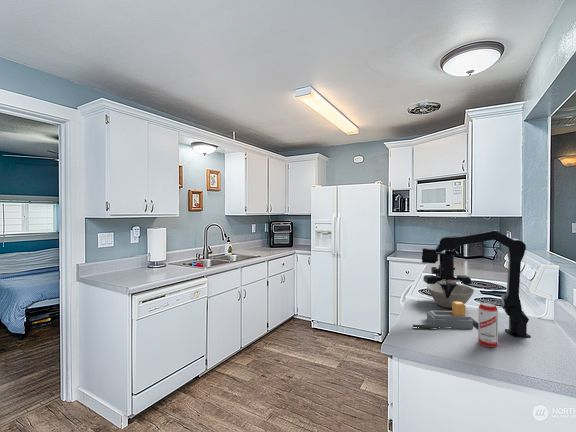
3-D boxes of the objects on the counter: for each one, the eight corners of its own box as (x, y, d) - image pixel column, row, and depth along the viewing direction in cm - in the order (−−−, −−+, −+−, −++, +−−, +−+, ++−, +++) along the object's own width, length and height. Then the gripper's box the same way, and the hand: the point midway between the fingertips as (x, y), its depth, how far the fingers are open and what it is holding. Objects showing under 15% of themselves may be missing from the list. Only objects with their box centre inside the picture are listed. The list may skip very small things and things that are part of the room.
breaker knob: (465, 317, 134) (465, 304, 134) (455, 317, 135) (455, 304, 134) (461, 313, 138) (461, 301, 138) (452, 313, 138) (452, 301, 138)
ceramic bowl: (470, 302, 165) (470, 284, 165) (477, 316, 144) (477, 296, 144) (426, 297, 175) (426, 280, 174) (426, 310, 154) (426, 291, 153)
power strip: (473, 328, 131) (473, 318, 131) (434, 327, 133) (434, 317, 133) (462, 319, 141) (462, 310, 141) (427, 318, 143) (427, 309, 143)
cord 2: (482, 329, 130) (482, 325, 130) (478, 328, 131) (478, 325, 131) (470, 319, 141) (470, 316, 141) (466, 319, 141) (467, 316, 141)
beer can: (479, 339, 121) (479, 300, 120) (498, 344, 117) (498, 303, 116) (477, 345, 116) (477, 304, 115) (496, 350, 112) (497, 308, 111)
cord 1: (439, 329, 131) (439, 326, 130) (413, 329, 132) (413, 325, 132) (438, 328, 132) (438, 324, 132) (412, 327, 133) (412, 324, 133)
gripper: (460, 260, 143) (460, 293, 143) (419, 260, 145) (419, 292, 146) (471, 265, 132) (472, 300, 132) (427, 265, 134) (427, 300, 135)
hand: (446, 298), depth 136 cm, fingers closed
